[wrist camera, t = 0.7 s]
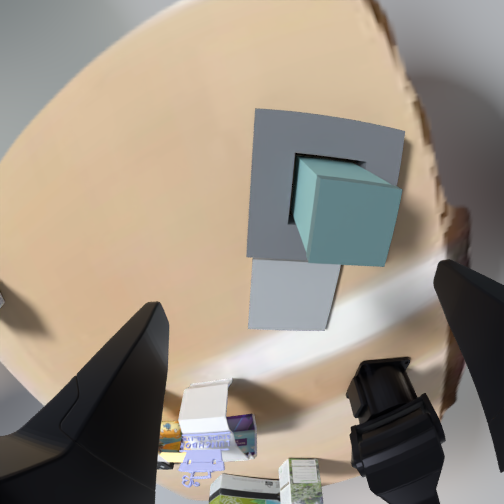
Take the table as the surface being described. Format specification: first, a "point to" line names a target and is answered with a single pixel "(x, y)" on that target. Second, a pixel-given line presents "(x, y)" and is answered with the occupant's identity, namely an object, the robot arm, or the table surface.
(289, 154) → the socket
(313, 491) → the syrup box
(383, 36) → the table surface
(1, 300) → the medicine box
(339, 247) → the plug
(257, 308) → the pad
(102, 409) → the robot arm
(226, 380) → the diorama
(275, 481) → the tea box
